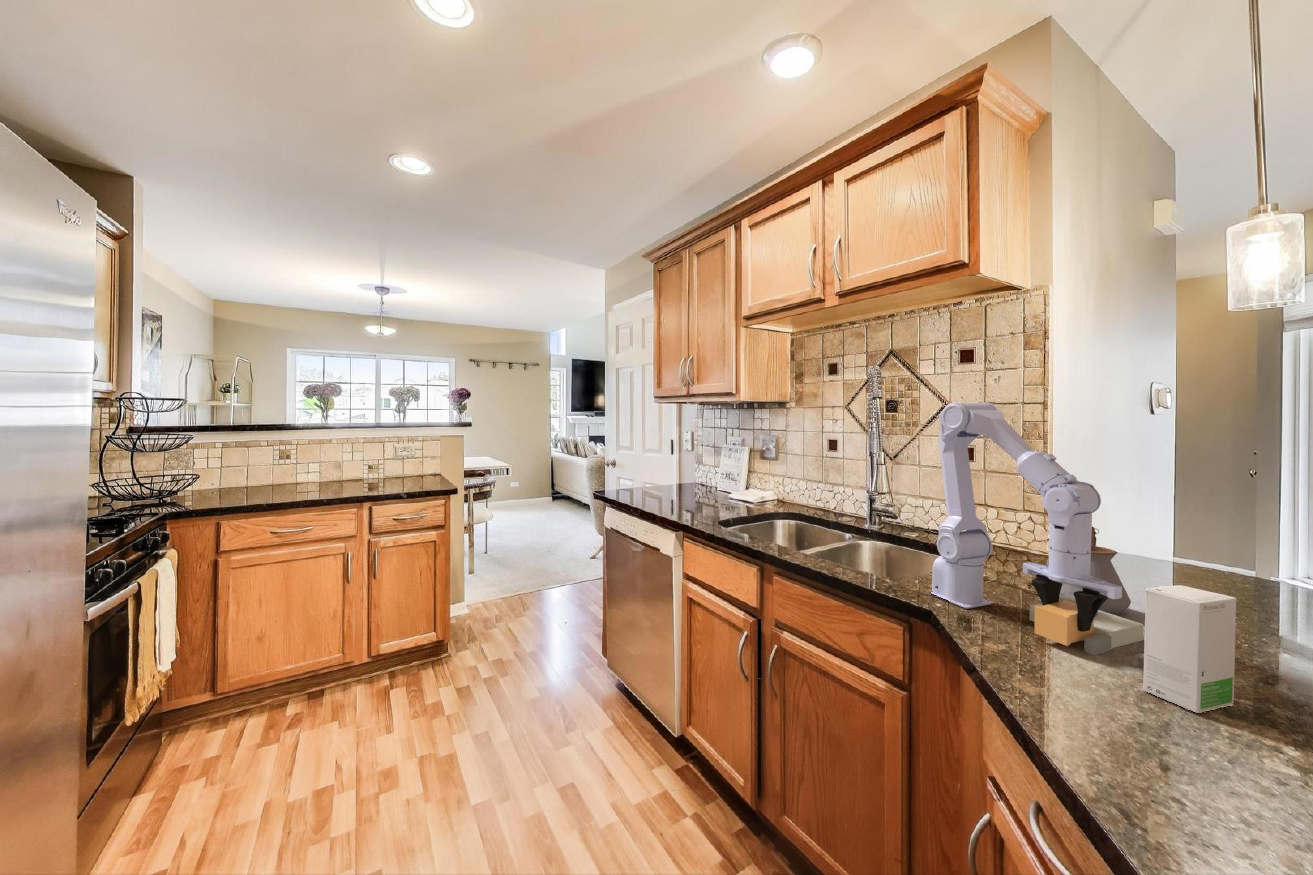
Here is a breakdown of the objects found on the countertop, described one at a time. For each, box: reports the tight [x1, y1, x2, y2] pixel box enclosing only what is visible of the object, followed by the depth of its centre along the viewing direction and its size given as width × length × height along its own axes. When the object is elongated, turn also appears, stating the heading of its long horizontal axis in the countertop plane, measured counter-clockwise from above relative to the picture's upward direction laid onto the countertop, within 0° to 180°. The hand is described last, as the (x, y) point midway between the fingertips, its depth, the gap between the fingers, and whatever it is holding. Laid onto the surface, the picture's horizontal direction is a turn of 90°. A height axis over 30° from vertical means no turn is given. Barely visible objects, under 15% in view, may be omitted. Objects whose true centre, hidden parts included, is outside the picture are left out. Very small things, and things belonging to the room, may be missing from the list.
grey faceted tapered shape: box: [1060, 526, 1132, 616], centre depth 106 cm, size 21×12×15 cm, turn 139°
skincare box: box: [1142, 584, 1237, 714], centre depth 69 cm, size 8×7×16 cm
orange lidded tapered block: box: [1034, 600, 1094, 647], centre depth 86 cm, size 5×8×5 cm
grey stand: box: [1029, 595, 1144, 656], centre depth 91 cm, size 13×15×5 cm
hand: (1067, 624), depth 87 cm, fingers open, 4 cm apart
